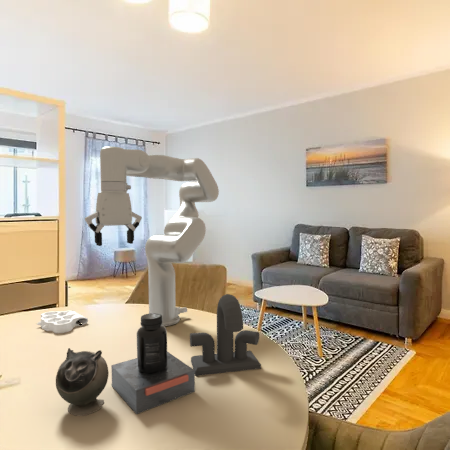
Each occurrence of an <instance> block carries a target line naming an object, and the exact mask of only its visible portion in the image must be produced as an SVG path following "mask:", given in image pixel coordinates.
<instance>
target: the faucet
mask: <svg viewBox="0 0 450 450" xmlns="http://www.w3.org/2000/svg"><path fill="white" fill-rule="evenodd" d="M216 307H217V309H216V342H215V339H214V338H213V336H212V335H211V334H209V333H208V332H192V333H191V332H190V333H189V344H190V347H202V348H201V352H202V353H201V354H199V355H193V356H191V357H190V363H191V366H192V369H194V370H195V377H198V376H199V377H200V376H206V375H208V376H209V375H214V374H215V375H216V374H225V373H233V372H234V373H235V372H242V371H243V372H244V371H251V370H261V369H262V364H261V363H260V361H259V360H258V358H257V357H256V356H255V354H254V353H253V352H252V351H251V350H250V349H249V350H247V349H248V344H249V345H255V346H257V345H258V344H259V342H260V332H259V331H255V330H254V331H253V330H244V319H243V312H242V308H241V305H240V302H239V299H238V298H237V297H236V296H234V295H233V294H229V293H226V294H224V295H222V296H221V297H220V298H219V299H218V302H217V306H216ZM234 333H236V335H235V338H234ZM215 343H216V345H215ZM215 346H216V347H215Z"/></svg>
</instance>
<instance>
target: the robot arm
mask: <svg viewBox="0 0 450 450" xmlns="http://www.w3.org/2000/svg"><path fill="white" fill-rule="evenodd" d="M99 152H100V155H99V158H100V159H99V163H100V192H98V193H97V197H96V202H95V203H96V205H95V212H93V213H91V214H90V215H88V216H86V217H84V221H85V223H86V224H87V226H88V228H90V230H92V231H93V233H94V244H96V246H99V247H102V246H103V233H102V232H101V230H102V229H103V228H104V227H106V226H107V227H109V226H110V227H111V226H113V227H114V226H116V227H117V226H125V227H126V228H127V230H126V243H127V244H134V240H135V231H136V229H137V228H138V226H140V223H141V221H142V219H143V218H142V216H141V215H139V214H137V213H136V212H133V211H132V210H133V209H132V203H131V197H130V193H128V190H132V189H131V188H132V186H131V185H129V184H128V181H127V177H135V178H146V179H155V180H165V181H167V180H169V181H172V182H184V183H183V184H181V185H180V187H179V191H178V194H179V195H178V197H179V208H178V210H177V211H176V212H175V214H173V216H172V217H170V219H169V220H168V221H167V223H166V224H165V226H164V229H163V234H154V235H152V236H150V237H149V238H148V239H147V240H146V242H145V246H144V247H145V249H144V250H145V256H146V261H147V267H148V268H147V269H148V270H147V271H148V272H147V273H148V314H150V313H158V314H161V315H162V322H163V323H162V324H161V325H163V326H164V327H169V326H174V325H175V324H176V325H177V324H178V323H179V322H180V320H181V319H180V318H181V317H180V314H185V313H187V312H188V308H187V307H186V306H185V307H181V306H176V270H175V267H174V265H173V263H176V264H183V263H186V262H188V261H189V260H190V259H191V258H192V256H193V255H194V254H195V252H196V250H197V249H198V248H199V247H200V245H201V243H202V242H203V240H204V238H205V236H206V230H207V229H206V228H207V227H206V223H205V222H204V220H202V219H201V217H199V211H198V209H197V207H196V204H195V203H212V202H215V201H216V200H217V199H218V197H219V193H220V190H219V186H218V184H217V182H216V180H215V178H214V176H213V174H212V172H211V171H210V169H209V167H208V166H207V164H206V163H205V162H204V161H203V160H202V159H201V158H199V157H194V158H178V157H173V156H170V155H164V154H152V155H150V154H148V153H147V152H146V151H144V150H142V149H135V148H134V149H127V148H123V147H120V146H104V147H102V148H101V149H100V151H99ZM133 218H134V219H135V220H134V222H133ZM93 219H95V224H96V225H95V224H94V223H93Z"/></svg>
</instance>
